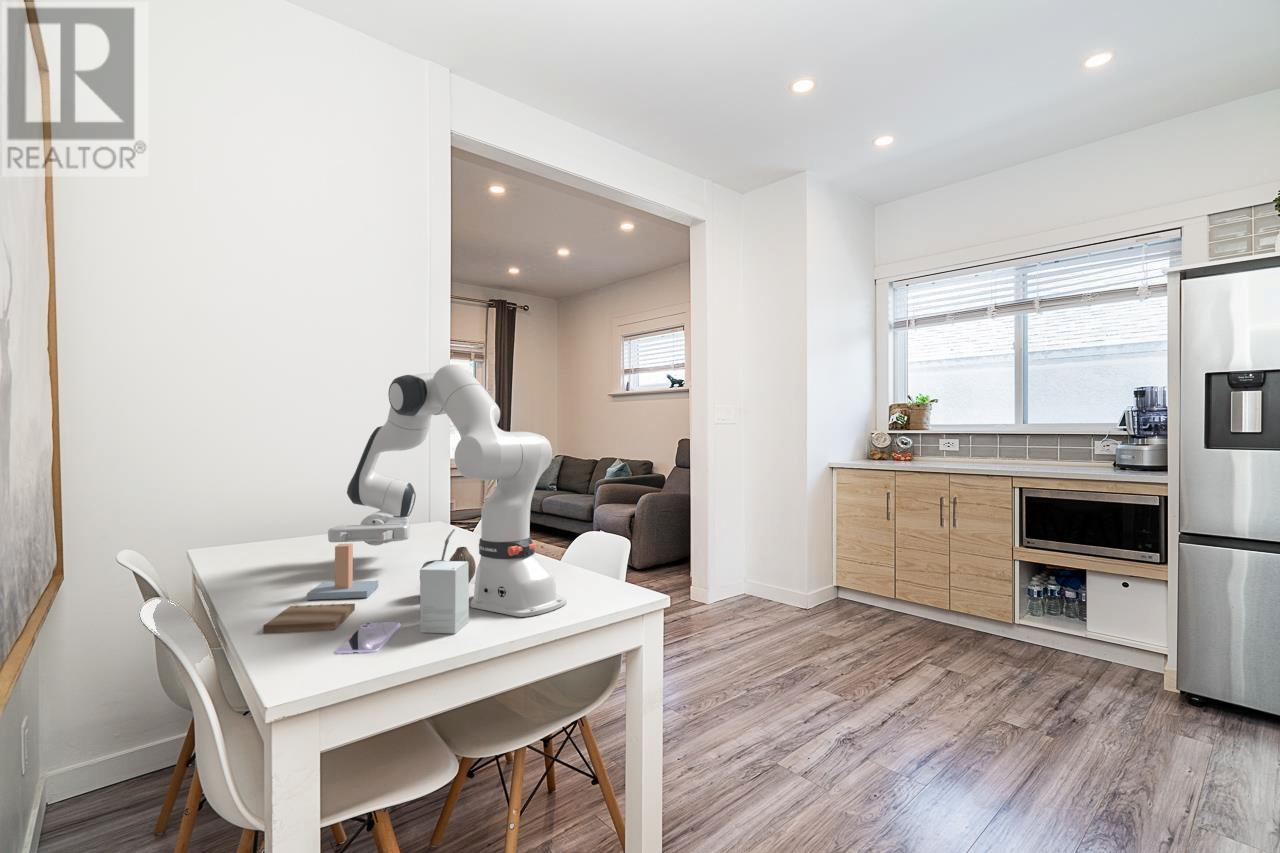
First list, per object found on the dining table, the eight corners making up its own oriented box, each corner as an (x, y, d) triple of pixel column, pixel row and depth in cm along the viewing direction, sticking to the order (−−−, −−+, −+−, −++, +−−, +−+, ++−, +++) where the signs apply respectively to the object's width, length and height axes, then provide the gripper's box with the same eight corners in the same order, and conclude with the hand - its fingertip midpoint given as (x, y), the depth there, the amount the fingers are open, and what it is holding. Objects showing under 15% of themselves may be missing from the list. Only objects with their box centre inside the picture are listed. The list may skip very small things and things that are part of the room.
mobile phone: (333, 650, 103) (363, 621, 118) (333, 656, 103) (363, 626, 118) (377, 649, 104) (402, 620, 119) (377, 654, 104) (402, 625, 119)
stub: (367, 597, 136) (367, 548, 136) (307, 599, 134) (307, 549, 134) (378, 586, 145) (378, 540, 145) (322, 588, 143) (322, 541, 143)
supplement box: (469, 621, 121) (470, 560, 120) (455, 634, 113) (455, 569, 113) (435, 620, 121) (435, 559, 121) (418, 633, 114) (418, 568, 114)
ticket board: (334, 629, 115) (334, 621, 115) (263, 633, 113) (263, 624, 113) (354, 610, 127) (354, 602, 127) (290, 612, 125) (290, 605, 125)
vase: (481, 580, 152) (481, 546, 152) (460, 586, 146) (460, 551, 146) (463, 576, 155) (463, 543, 155) (441, 582, 150) (441, 548, 150)
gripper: (337, 518, 163) (318, 527, 149) (414, 516, 166) (402, 524, 152) (338, 541, 163) (318, 551, 149) (414, 538, 166) (402, 548, 152)
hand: (361, 537), depth 151 cm, fingers open, 8 cm apart
